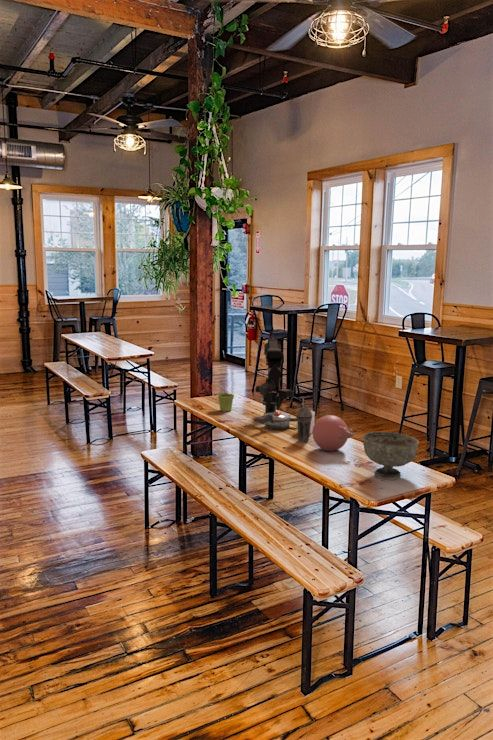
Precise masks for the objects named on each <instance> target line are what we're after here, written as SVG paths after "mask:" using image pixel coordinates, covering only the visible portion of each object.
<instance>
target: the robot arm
mask: <svg viewBox="0 0 493 740" xmlns="http://www.w3.org/2000/svg"><path fill="white" fill-rule="evenodd" d="M263 347H264V348H263V355H265V357H264V358H265V364H266V366H267V378H266V379H265V382H264V383H262V384H260V385H256V386H255V389H254V390H255V392H256V393H260V395H261V396H262V406H265V407H264V408H265V410H264V413H263V415H264V416H265V414H266V413H270V412H277V410H278V411H279V410H280V407H281V406H282V404H283V402H284V400H285V399H286V398H288V397H289V398H290V397H293V390H292V389H288V388H284V389H282V386H281V381H282V380H283V379H282V378H281V377H282V370H281V367H282V366H283V365H284V364H285V355H284V353H283V352H282V349H281V348H282V345H281V344H280V343H279V340H278V339H268V340H267V342H266V343H265V344H264V346H263Z"/></svg>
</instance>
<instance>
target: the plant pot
mask: <svg viewBox="0 0 493 740" xmlns="http://www.w3.org/2000/svg"><path fill="white" fill-rule="evenodd" d="M234 398H235V394H233V393H220V394H217V399H218V403H219V411H221V412H224V413H227V412H231V411H232V409H233V408H232V407H233V401H234Z"/></svg>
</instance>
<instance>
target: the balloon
mask: <svg viewBox="0 0 493 740" xmlns="http://www.w3.org/2000/svg"><path fill="white" fill-rule="evenodd" d="M351 437H354V431H353V429H351V428H350V429H349V428H348V426H347V424H346V422H345V421H344V420H343V419H342V418H341V417H339V416H336V415H331V414H328V415H327V414H326V415H324V416H323V415H322V417H320V418H319V419H317V420H316V422H314V427H313V431H312V439H313V441H314V443H315V445H316V446H317V447H319V448H320V449H322V450H324V451H327V452H328V451H329V452H335V451H338V450H340V449H341V448H343V446H345V444H346V443H347V442H348V440H349V439H351Z"/></svg>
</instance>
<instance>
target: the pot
mask: <svg viewBox="0 0 493 740" xmlns="http://www.w3.org/2000/svg"><path fill="white" fill-rule="evenodd" d="M257 418H258V417H254V419H253V420H254V422H257ZM290 422H297V417H291V418H290V419H289V420H284V421H274V420H271V421H268V422H265V428H266V429H268V430H273V431H277V430H278V431H284V430H287V429H289V428H290V426H291V425H290V424H291V423H290Z"/></svg>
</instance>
